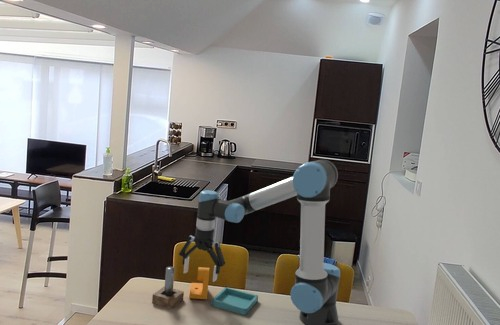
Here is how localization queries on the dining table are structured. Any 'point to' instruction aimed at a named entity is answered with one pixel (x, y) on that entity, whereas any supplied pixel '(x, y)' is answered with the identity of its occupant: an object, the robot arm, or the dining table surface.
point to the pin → (169, 281)
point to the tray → (235, 300)
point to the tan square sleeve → (167, 298)
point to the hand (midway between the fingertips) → (200, 276)
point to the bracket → (200, 284)
